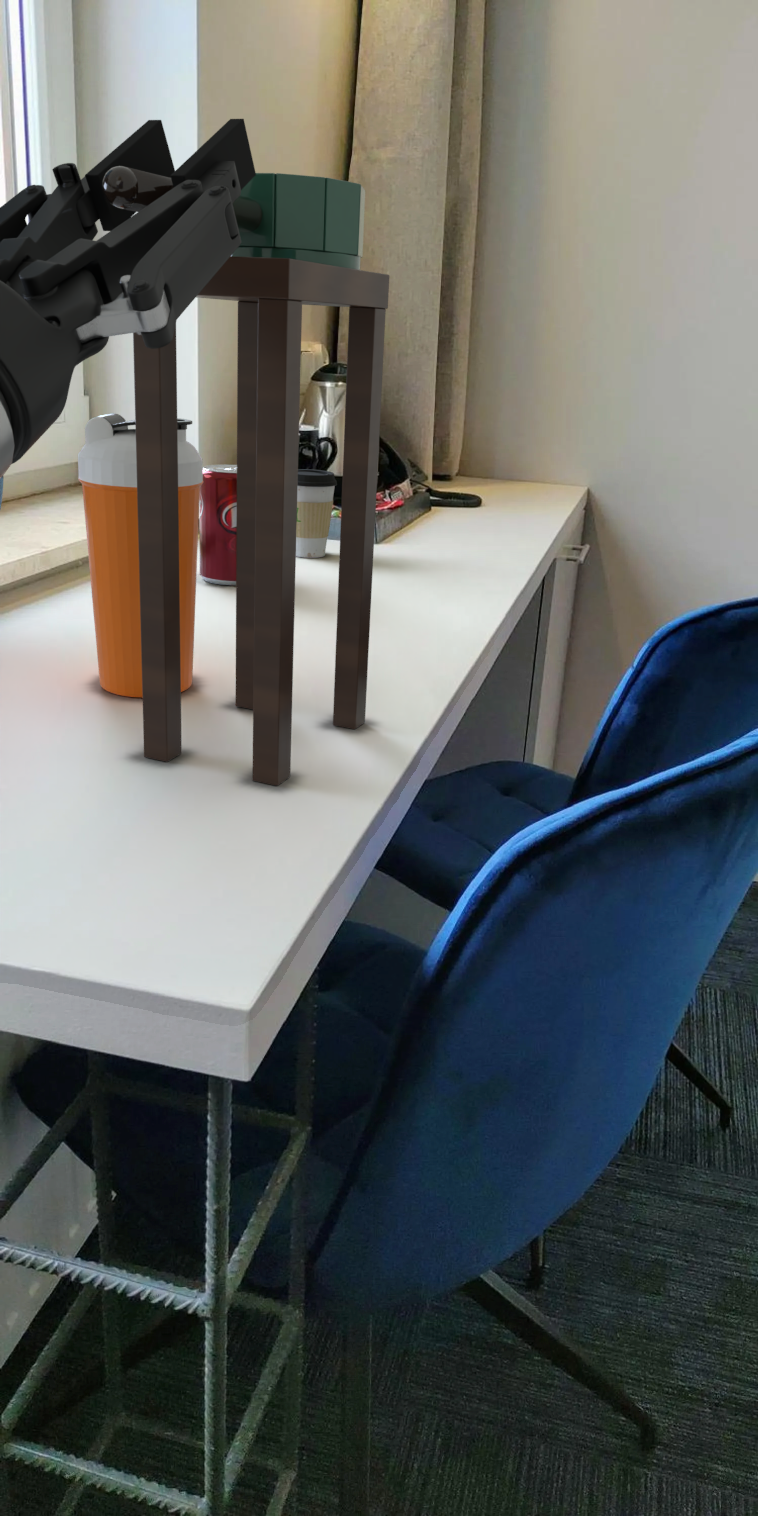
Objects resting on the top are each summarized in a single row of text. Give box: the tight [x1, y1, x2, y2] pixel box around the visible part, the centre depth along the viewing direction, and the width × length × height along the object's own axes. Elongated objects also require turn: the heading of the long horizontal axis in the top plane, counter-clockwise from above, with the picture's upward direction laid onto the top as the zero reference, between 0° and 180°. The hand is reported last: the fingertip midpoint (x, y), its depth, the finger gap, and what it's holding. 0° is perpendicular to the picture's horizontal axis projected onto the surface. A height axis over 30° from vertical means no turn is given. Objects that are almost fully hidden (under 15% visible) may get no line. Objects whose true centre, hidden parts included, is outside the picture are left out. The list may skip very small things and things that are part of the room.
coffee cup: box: [296, 468, 338, 559], centre depth 137 cm, size 7×7×10 cm
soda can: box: [198, 463, 237, 587], centre depth 121 cm, size 7×7×12 cm
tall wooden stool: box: [132, 256, 390, 787], centre depth 71 cm, size 14×10×30 cm
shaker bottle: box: [77, 412, 204, 699], centre depth 83 cm, size 9×9×20 cm
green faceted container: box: [102, 166, 366, 270], centre depth 61 cm, size 22×9×5 cm, turn 157°
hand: (202, 147), depth 58 cm, fingers open, 4 cm apart
